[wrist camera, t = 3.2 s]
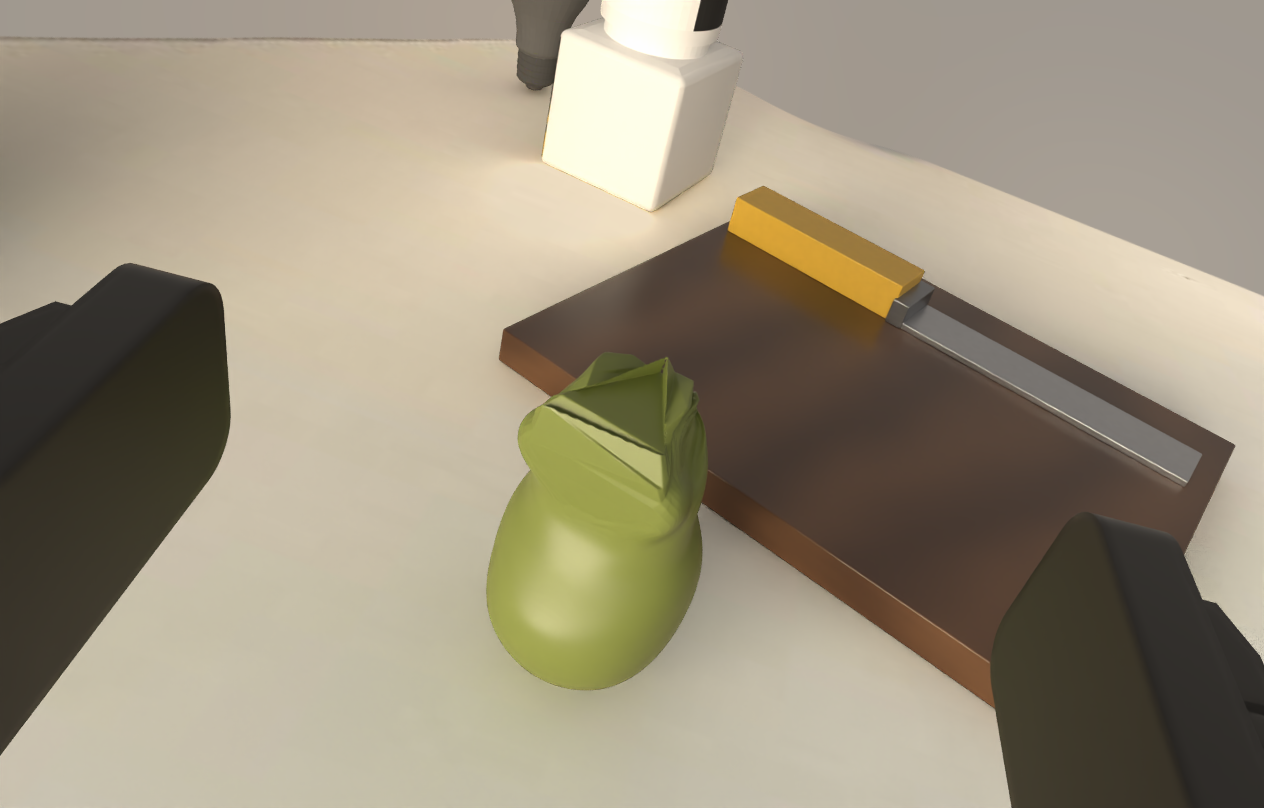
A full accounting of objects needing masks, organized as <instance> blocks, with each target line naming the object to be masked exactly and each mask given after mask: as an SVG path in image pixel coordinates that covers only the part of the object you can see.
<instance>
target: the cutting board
mask: <svg viewBox="0 0 1264 808" xmlns="http://www.w3.org/2000/svg"><path fill="white" fill-rule="evenodd" d="M729 223H730V221H729V222H727V223H725V224H723V225H721V226H719V227H717V228H714V229H712V230H710V231H708V232H706V233H704V234H702V235H700V236H698V237H696V238H693V239H691V240H689V241H687V242H685V243H683V244H681V245H679V246H677V247H675V248H673V249H670V250H668V251H666V252H664V253H662V254H660V255H658V256H656V257H654V258H652V259H649V260H647V261H645V262H643V263H641V264H639V265H637V266H635V267H633V268H631V269H628V270H626V271H624V272H622V273H620V274H618V275H616V276H614V277H612V278H610V279H608V280H605V281H603V282H601V283H599V284H597V285H595V286H593V287H591V288H589V289H587V290H584V291H582V292H580V293H578V294H576V295H574V296H572V297H570V298H568V299H566V300H563V301H561V302H559V303H557V304H555V305H553V306H551V307H549V308H547V309H545V310H543V311H540V312H538V313H536V314H534V315H532V316H530V317H528V318H526V319H524V320H522V321H519V322H517V323H515V324H513V325H511V326H509V327H507V328H505V329H504V330H503V335H502V342H501V349H500V355H499V360H500V361H502V362H503V363H505V364H506V365H507V366H509V367H510V368H512V369H513V370H515V371H516V372H517V373H519V374H520V375H522V376H523V377H525V378H526V379H527V380H529V381H530V382H532V383H533V384H534V385H536V386H537V387H539V388H540V389H542V390H543V391H544V392H546V393H547V394H549V395H550V396H553V395H557V394H559V393H560V392H561V391H562V390H564V389H565V388H566V387H567V386H568V385H570V384H571V383H572V382H574V381H575V380H576V379H577V378H579V377H580V375H582V373H584V372H585V370H587V369H588V367H589V366H590V365H591V364H592V363H593V362H594V361H595V360H596V359H597V358H598V357H599V356H600V355H601V354H602V353H605V352H612V353H621V354H631V355H634V356H636V357H637V358H638V359H639V360H641V361H642V362H644V363H645V364H646V365H647V364H650V363H654V362H655V361H658V360H660V359H661V358H662V359H663V358H666V357H668V358H669V360H670V362H671V365H672V367H673V369H674V371H675V372H676V373H679V374H681V375H683V376H685V377H687V378H689V379H691V380H693V381H694V386H693V392H697V394H698V397H699V402H698V404H697V410H698V412H699V414H700V416H701V418H702V420H703V423H704V426H705V432H706V439H707V451H708V472H707V481H706V486H705V491H704V495H703V498H702V503H704V504H705V505H706V506H708V507H709V508H711V509H712V510H714V511H715V512H716V513H718V514H719V515H721V516H722V517H723V518H725V519H726V520H728V521H729V522H731V523H732V524H733V525H735V526H736V527H738V528H739V529H741V530H742V531H743V532H745V533H746V534H748V535H749V536H750V537H752V538H753V539H755V540H756V541H758V542H759V543H760V544H762V545H763V546H765V547H766V548H768V549H769V550H770V551H772V552H773V553H775V554H776V555H777V556H779V557H780V558H782V559H783V560H785V561H786V562H787V563H789V564H790V565H792V566H793V567H795V568H796V569H797V570H799V571H800V572H802V573H803V574H804V575H806V576H807V577H809V578H810V579H812V580H813V581H814V582H816V583H817V584H819V585H820V586H822V587H823V588H824V589H826V590H827V591H829V592H830V593H831V594H833V595H834V596H836V597H837V598H839V599H840V600H841V601H843V602H844V603H846V604H847V605H849V606H850V607H851V608H853V609H854V610H856V611H857V612H858V613H860V614H861V615H863V616H864V617H866V618H867V619H868V620H870V621H871V622H873V623H874V624H876V625H877V626H878V627H880V628H881V629H883V630H884V631H885V632H887V633H888V634H890V635H891V636H893V637H894V638H895V639H897V640H898V641H900V642H901V643H903V644H904V645H905V646H907V647H908V648H910V649H911V650H913V651H914V652H915V653H917V654H918V655H920V656H921V657H922V658H924V659H925V660H927V661H928V662H930V663H931V664H932V665H934V666H935V667H937V668H938V669H940V670H941V671H942V672H944V673H945V674H947V675H948V676H949V677H951V678H952V679H954V680H955V681H957V682H958V683H959V684H961V685H962V686H964V687H965V688H967V689H968V690H969V691H971V692H972V693H974V694H975V695H976V696H978V697H979V698H981V699H982V700H984V701H985V702H986V703H988V704H989V705H991V706H992V707H994V708H995V705H994V699H993V693H992V687H991V679H990V662H991V653H992V648H993V643H994V639H995V635H996V632H997V630H998V627H999V625H1000V622H1001V620H1002V618H1003V617H1004V615H1005V613H1006V612H1007V610H1008V609H1009V607H1010V606H1011V604H1012V603H1013V601H1014V600H1015V598H1016V597H1017V595H1018V594H1019V592H1020V591H1021V589H1022V588H1023V586H1024V585H1025V583H1026V582H1027V580H1028V579H1029V577H1030V576H1031V574H1032V573H1033V571H1034V570H1035V568H1036V567H1037V565H1038V564H1039V562H1040V561H1041V559H1042V558H1043V556H1044V555H1045V554H1046V552H1047V551H1048V549H1049V548H1050V546H1051V545H1052V543H1053V542H1054V540H1055V539H1056V537H1057V536H1058V534H1059V533H1060V531H1061V530H1062V528H1063V527H1064V526H1065V524H1066V523H1067V522H1068V521H1069V520H1070V519H1071V518H1072V517H1073V516H1075V515H1076V514H1078V513H1081V512H1090V513H1094V514H1098V515H1102V516H1106V517H1109V518H1113V519H1117V520H1121V521H1125V522H1129V523H1133V524H1137V525H1141V526H1144V527H1148V528H1152V529H1156V530H1160V531H1164V532H1167V533H1169V534H1171V535H1172V536H1173V537H1174V538H1175V539H1176V540H1177V541H1178V543H1179V545H1180V547H1181V549H1182V552H1183V554H1185V551H1186V549H1187V547H1188V545H1189V543H1190V541H1191V539H1192V537H1193V535H1194V532H1195V530H1196V528H1197V526H1198V524H1199V522H1200V520H1201V518H1202V516H1203V513H1204V511H1205V509H1206V507H1207V505H1208V503H1209V501H1210V499H1211V497H1212V494H1213V492H1214V490H1215V488H1216V486H1217V484H1218V482H1219V480H1220V477H1221V475H1222V473H1223V471H1224V469H1225V467H1226V465H1227V463H1228V461H1229V458H1230V456H1231V454H1232V452H1233V450H1234V448H1235V445H1234V444H1233V443H1231V442H1229V441H1227V440H1225V439H1223V438H1221V437H1219V436H1218V435H1216V434H1214V433H1212V432H1210V431H1208V430H1206V429H1204V428H1202V427H1201V426H1199V425H1197V424H1195V423H1193V422H1191V421H1189V420H1187V419H1186V418H1184V417H1182V416H1180V415H1178V414H1176V413H1174V412H1172V411H1170V410H1169V409H1167V408H1165V407H1163V406H1161V405H1159V404H1157V403H1155V402H1154V401H1152V400H1150V399H1148V398H1146V397H1144V396H1142V395H1140V394H1138V393H1137V392H1135V391H1133V390H1131V389H1129V388H1127V387H1125V386H1123V385H1122V384H1120V383H1118V382H1116V381H1114V380H1112V379H1110V378H1108V377H1106V376H1105V375H1103V374H1101V373H1099V372H1097V371H1095V370H1093V369H1091V368H1090V367H1088V366H1086V365H1084V364H1082V363H1080V362H1078V361H1076V360H1074V359H1073V358H1071V357H1069V356H1067V355H1065V354H1063V353H1061V352H1059V351H1058V350H1056V349H1054V348H1052V347H1050V346H1048V345H1046V344H1044V343H1042V342H1041V341H1039V340H1037V339H1035V338H1033V337H1031V336H1029V335H1027V334H1026V333H1024V332H1022V331H1020V330H1018V329H1016V328H1014V327H1012V326H1010V325H1009V324H1007V323H1005V322H1003V321H1001V320H999V319H997V318H995V317H994V316H992V315H990V314H988V313H986V312H984V311H982V310H980V309H979V308H977V307H975V306H973V305H971V304H969V303H967V302H965V301H963V300H962V299H960V298H958V297H956V296H954V295H952V294H950V293H948V292H947V291H945V290H943V289H941V288H939V287H937V286H935V285H933V284H931V283H930V282H928V281H926V280H924V279H921V280H922V281H923V282H925V283H927V284H929V285H931V286H933V287H934V288H935V290H934V292H933V294H932V296H931V298H930V300H929V303H928V306H930V307H932V308H934V309H936V310H938V311H939V312H941V313H943V314H945V315H947V316H949V317H951V318H952V319H954V320H956V321H958V322H960V323H962V324H963V325H965V326H967V327H969V328H971V329H973V330H975V331H976V332H978V333H980V334H982V335H984V336H986V337H987V338H989V339H991V340H993V341H995V342H997V343H998V344H1000V345H1002V346H1004V347H1006V348H1008V349H1010V350H1011V351H1013V352H1015V353H1017V354H1019V355H1021V356H1022V357H1024V358H1026V359H1028V360H1030V361H1032V362H1034V363H1035V364H1037V365H1039V366H1041V367H1043V368H1045V369H1046V370H1048V371H1050V372H1052V373H1054V374H1056V375H1058V376H1059V377H1061V378H1063V379H1065V380H1067V381H1069V382H1070V383H1072V384H1074V385H1076V386H1078V387H1080V388H1081V389H1083V390H1085V391H1087V392H1089V393H1091V394H1093V395H1094V396H1096V397H1098V398H1100V399H1102V400H1104V401H1105V402H1107V403H1109V404H1111V405H1113V406H1115V407H1117V408H1118V409H1120V410H1122V411H1124V412H1126V413H1128V414H1129V415H1131V416H1133V417H1135V418H1137V419H1139V420H1141V421H1142V422H1144V423H1146V424H1148V425H1150V426H1152V427H1153V428H1155V429H1157V430H1159V431H1161V432H1163V433H1165V434H1166V435H1168V436H1170V437H1172V438H1174V439H1176V440H1177V441H1179V442H1181V443H1183V444H1185V445H1187V446H1188V447H1190V448H1192V449H1194V450H1196V451H1198V452H1200V453H1201V454H1202V456H1201V458H1200V460H1199V462H1198V464H1197V466H1196V468H1195V470H1194V472H1193V474H1192V476H1191V478H1190V479H1189V481H1188V483H1187V484H1186V486H1185V487H1183V486H1181V485H1179V484H1178V483H1176V482H1174V481H1172V480H1170V479H1169V478H1167V477H1165V476H1163V475H1161V474H1160V473H1158V472H1156V471H1154V470H1153V469H1151V468H1149V467H1147V466H1145V465H1144V464H1142V463H1140V462H1138V461H1136V460H1135V459H1133V458H1131V457H1129V456H1127V455H1126V454H1124V453H1122V452H1120V451H1119V450H1117V449H1115V448H1113V447H1111V446H1110V445H1108V444H1106V443H1104V442H1102V441H1101V440H1099V439H1097V438H1095V437H1094V436H1092V435H1090V434H1088V433H1086V432H1085V431H1083V430H1081V429H1079V428H1077V427H1076V426H1074V425H1072V424H1070V423H1069V422H1067V421H1065V420H1063V419H1061V418H1060V417H1058V416H1056V415H1054V414H1052V413H1051V412H1049V411H1047V410H1045V409H1044V408H1042V407H1040V406H1038V405H1036V404H1035V403H1033V402H1031V401H1029V400H1027V399H1026V398H1024V397H1022V396H1020V395H1018V394H1017V393H1015V392H1013V391H1011V390H1010V389H1008V388H1006V387H1004V386H1002V385H1001V384H999V383H997V382H995V381H993V380H992V379H990V378H988V377H986V376H985V375H983V374H981V373H979V372H977V371H976V370H974V369H972V368H970V367H968V366H967V365H965V364H963V363H961V362H960V361H958V360H956V359H954V358H952V357H951V356H949V355H947V354H945V353H943V352H942V351H940V350H938V349H936V348H935V347H933V346H931V345H929V344H927V343H926V342H924V341H922V340H920V339H918V338H917V337H915V336H913V335H911V334H909V333H908V332H906V331H904V330H902V329H901V328H900V329H899V328H897V327H895V326H893V325H892V324H890V323H888V322H886V321H885V318H884V317H882V316H880V315H878V314H876V313H875V312H873V311H871V310H869V309H867V308H866V307H864V306H862V305H860V304H859V303H857V302H855V301H853V300H851V299H850V298H848V297H846V296H844V295H842V294H841V293H839V292H837V291H835V290H833V289H832V288H830V287H828V286H826V285H825V284H823V283H821V282H819V281H817V280H816V279H814V278H812V277H810V276H808V275H807V274H805V273H803V272H801V271H799V270H798V269H796V268H794V267H792V266H791V265H789V264H787V263H785V262H783V261H782V260H780V259H778V258H776V257H774V256H773V255H771V254H769V253H767V252H765V251H764V250H762V249H760V248H758V247H757V246H755V245H753V244H751V243H749V242H748V241H746V240H744V239H742V238H740V237H739V236H737V235H735V234H733V233H731V232H730V231H728V227H729ZM666 360H667V359H665V362H666ZM664 367H665V363H664V365H663V368H664ZM661 373H663V369H662V370H661Z"/></svg>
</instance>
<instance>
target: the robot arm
mask: <svg viewBox="0 0 1264 808" xmlns="http://www.w3.org/2000/svg"><path fill="white" fill-rule="evenodd" d="M230 418H231V413H230V396H229V381H228V366H227V351H226V336H225V322H224V308H223V301H222V297H221V294H220V292H219V290H218V289H217V288H216V286H214V285H213V284H211V283H207V282H203V281H199V280H195V279H192V278H188V277H184V276H180V275H176V274H172V273H168V272H164V271H160V270H157V269H153V268H149V267H145V266H141V265H137V264H133V263H127V264H123V265H121V266H119V267H117V268H116V269H114V270H113V271H112V272H111V273H109V274H108V275H107V276H106V277H105V278H103V279H102V280H101V281H100V282H99V283H97V284H96V285H95V286H94V287H93V288H92V289H90V290H89V291H88V292H87V293H86V294H84V295H83V296H82V297H81V298H80V299H79V300H77V301H76V302H75V303H74V304H73V305H67V304H63V303H59V302H56V301H55V302H53V303H50V304H48V305H45V306H43V307H40V308H38V309H35V310H33V311H30V312H28V313H26V314H23V315H21V316H18V317H16V318H13V319H11V320H8V321H6V322H3V323H1V324H0V755H1V754H2V752H3V751H4V750H5V749H6V747H7V746H8V745H9V743H10V742H11V741H12V739H13V738H14V737H15V735H16V734H17V733H18V731H19V730H20V729H21V727H22V726H23V725H24V723H25V722H26V721H27V719H28V718H29V717H30V716H31V714H32V713H33V712H34V710H35V709H36V708H37V706H38V705H39V704H40V702H41V701H42V700H43V698H44V697H45V696H46V694H47V693H48V692H49V690H50V689H51V688H52V686H53V685H54V684H55V683H56V681H57V680H58V679H59V677H60V676H61V675H62V673H63V672H64V671H65V669H66V668H67V667H68V665H69V664H70V663H71V661H72V660H73V659H74V657H75V656H76V655H77V653H78V652H79V651H80V650H81V648H82V647H83V646H84V644H85V643H86V642H87V640H88V639H89V638H90V636H91V635H92V634H93V632H94V631H95V630H96V628H97V627H98V626H99V624H100V623H101V622H102V620H103V619H104V618H105V617H106V615H107V614H108V613H109V611H110V610H111V609H112V607H113V606H114V605H115V603H116V602H117V601H118V599H119V598H120V597H121V595H122V594H123V593H124V591H125V590H126V589H127V587H128V586H129V585H130V584H131V582H132V581H133V580H134V578H135V577H136V576H137V574H138V573H139V572H140V570H141V569H142V568H143V566H144V565H145V564H146V562H147V561H148V560H149V558H150V557H151V556H152V554H153V553H154V552H155V551H156V549H157V548H158V547H159V545H160V544H161V543H162V541H163V540H164V539H165V537H166V536H167V535H168V533H169V532H170V531H171V529H172V528H173V527H174V525H175V524H176V523H177V521H178V520H179V519H180V518H181V516H182V515H183V514H184V512H185V511H186V510H187V508H188V507H189V506H190V504H191V503H192V502H193V500H194V499H195V498H196V496H197V495H198V494H199V492H200V491H201V490H202V488H203V487H204V486H205V485H206V483H207V482H208V481H209V479H210V478H211V476H212V475H213V473H214V471H215V470H216V468H217V466H218V464H219V462H220V459H221V457H222V454H223V452H224V449H225V446H226V442H227V438H228V434H229V428H230ZM990 679H991V687H992V693H993V699H994V705H995V711H996V717H997V723H998V729H999V735H1000V741H1001V747H1002V753H1003V759H1004V765H1005V771H1006V777H1007V783H1008V789H1009V795H1010V801H1011V807H1012V808H1264V664H1263V662H1262V659H1261V657H1260V655H1259V654H1258V653H1257V652H1256V651H1255V649H1254V648H1253V647H1252V646H1251V645H1250V643H1249V642H1248V641H1247V640H1246V639H1245V637H1244V636H1243V635H1242V634H1241V633H1240V631H1239V630H1238V629H1237V628H1236V626H1235V625H1234V624H1233V623H1232V622H1231V620H1230V619H1229V618H1228V617H1227V616H1226V614H1225V613H1224V612H1223V611H1222V610H1221V608H1220V607H1219V606H1218V605H1217V604H1216V603H1213V602H1209V601H1205V600H1202V598H1201V596H1200V593H1199V591H1198V588H1197V586H1196V583H1195V581H1194V578H1193V576H1192V574H1191V571H1190V569H1189V566H1188V564H1187V561H1186V559H1185V557H1184V554H1183V552H1182V549H1181V547H1180V545H1179V543H1178V541H1177V540H1176V539H1175V538H1174V537H1173V536H1172V535H1171V534H1169V533H1167V532H1164V531H1160V530H1156V529H1152V528H1148V527H1144V526H1141V525H1137V524H1133V523H1129V522H1125V521H1121V520H1117V519H1113V518H1109V517H1106V516H1102V515H1098V514H1094V513H1090V512H1081V513H1078V514H1076V515H1075V516H1073V517H1072V518H1071V519H1070V520H1069V521H1068V522H1067V523H1066V524H1065V526H1064V527H1063V528H1062V530H1061V531H1060V533H1059V534H1058V536H1057V537H1056V539H1055V540H1054V542H1053V543H1052V545H1051V546H1050V548H1049V549H1048V551H1047V552H1046V554H1045V555H1044V556H1043V558H1042V559H1041V561H1040V562H1039V564H1038V565H1037V567H1036V568H1035V570H1034V571H1033V573H1032V574H1031V576H1030V577H1029V579H1028V580H1027V582H1026V583H1025V585H1024V586H1023V588H1022V589H1021V591H1020V592H1019V594H1018V595H1017V597H1016V598H1015V600H1014V601H1013V603H1012V604H1011V606H1010V607H1009V609H1008V610H1007V612H1006V613H1005V615H1004V617H1003V618H1002V620H1001V622H1000V625H999V627H998V630H997V632H996V635H995V639H994V643H993V648H992V653H991V662H990Z"/></svg>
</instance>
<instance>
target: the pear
mask: <svg viewBox="0 0 1264 808" xmlns="http://www.w3.org/2000/svg"><path fill="white" fill-rule="evenodd" d="M665 359H667V360H666V362H665ZM664 363H665V367H664V368H663V365H664ZM662 369H663V373H661V370H662ZM693 386H694V381H693V380H691V379H689V378H687V377H685V376H683V375H681V374H679V373H676V372H675V371H674V369H673V367H672V365H671V362H670V360H669V358H668V357H666V358H663V359H662V358H661V359H660V360H658V361H655V362H654V363H650V364H647V365H646V364H645V363H644V362H642V361H641V360H639V359H638V358H637V357H636V356H634V355H631V354H621V353H612V352H605V353H602V354H601V355H600V356H599V357H598V358H597V359H596V360H595V361H594V362H593V363H592V364H591V365H590V366H589V367H588V369H587V370H585V372H584V373H582V375H580V377H579V378H577V379H576V380H575V381H574V382H572V383H571V384H570V385H568V386H567V387H566V388H565V389H564V390H562V391H561V392H560V393H559V394H557V395H553V396H552V397H551V398H550V399H549V400H547V401H546V402H545V403H544V404H543V405H541V406H539V407H537V408H535V409H534V410H532V411H531V412H530V413H529V414H528V415H527V416H526V417H525V418H524V419H523V421H522V423H521V425H520V427H519V431H518V445H519V448H520V451H521V454H522V456H523V458H524V460H525V462H526V463H527V465H528V466H529V468H530V471H529V472H528V473H527V475H526V476H525V477H524V478H523V480H522V481H521V482H520V484H519V485H518V487H517V488H516V490H515V492H514V493H513V495H512V497H511V499H510V501H509V503H508V505H507V507H506V510H505V512H504V515H503V517H502V520H501V523H500V526H499V529H498V532H497V535H496V539H495V543H494V547H493V550H492V554H491V559H490V563H489V568H488V575H487V588H486V594H487V606H488V612H489V616H490V619H491V622H492V625H493V628H494V630H495V632H496V634H497V636H498V638H499V640H500V641H501V643H502V644H503V646H504V647H505V649H506V650H507V651H508V653H509V654H510V655H511V656H512V657H513V658H514V659H515V660H516V661H517V662H518V663H519V664H520V665H521V666H522V667H523V668H525V669H526V670H527V671H528V672H530V673H531V674H533V675H534V676H536V677H538V678H540V679H542V680H544V681H546V682H548V683H551V684H553V685H556V686H560V687H564V688H568V689H574V690H597V689H603V688H607V687H611V686H614V685H617V684H619V683H621V682H624V681H626V680H627V679H629V678H631V677H633V676H634V675H636V674H637V673H639V672H640V671H641V670H643V669H644V668H645V667H646V666H647V665H649V664H650V663H651V662H652V661H653V660H654V659H655V658H656V657H657V656H658V654H659V653H660V652H661V651H662V650H663V649H664V647H665V646H666V645H667V643H668V642H669V641H670V639H671V638H672V636H673V635H674V633H675V632H676V630H677V628H678V627H679V625H680V623H681V622H682V620H683V618H684V616H685V614H686V612H687V610H688V608H689V606H690V604H691V601H692V599H693V596H694V593H695V591H696V587H697V584H698V581H699V577H700V572H701V566H702V537H701V530H700V524H699V519H698V515H697V513H698V511H699V508H700V505H701V502H702V498H703V495H704V491H705V486H706V481H707V472H708V451H707V439H706V432H705V426H704V423H703V420H702V418H701V416H700V414H699V412H698V410H697V404H698V402H699V397H698V394H697V392H693Z"/></svg>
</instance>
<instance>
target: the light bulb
mask: <svg viewBox="0 0 1264 808" xmlns="http://www.w3.org/2000/svg"><path fill="white" fill-rule="evenodd" d="M588 1H589V0H512V3H513V6H514V11H515V16H516V25H517V34H516V45H517V47H518V48H519V51H518V60H517V62H518V64H517V76H518V78H519V80H520V81H522V82H523V83H525V84H526V86H527V87H528V88H529V89H532V90H541V89H542V88H543V87H546V86H549V85H551V84H552V83H553V80H554V74H555V67H556V61H557V55H558V48H559V42H560V36H561V34H562V32H563V31H565V30H566V29H569V28H571V26H572V24H573V22H574V21H575V19H576V17H577V16H578V15H579V13H580V12H581V11H582V10H583V8H584V7H585V6H586V4H587V2H588Z"/></svg>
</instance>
